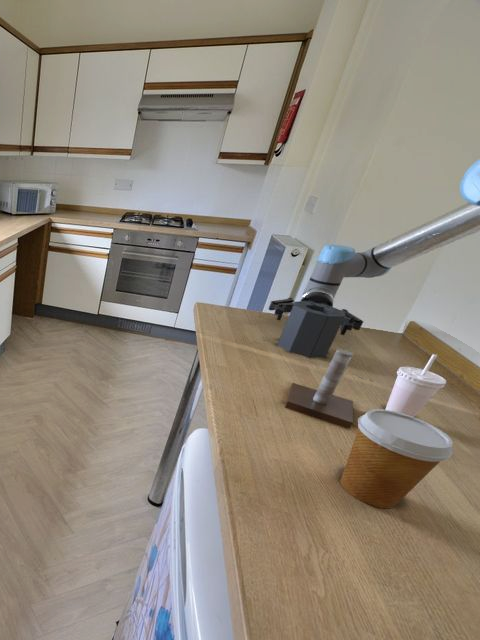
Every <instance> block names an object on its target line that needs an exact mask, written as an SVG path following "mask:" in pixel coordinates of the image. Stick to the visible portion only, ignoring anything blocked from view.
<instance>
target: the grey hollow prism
mask: <svg viewBox="0 0 480 640" xmlns="http://www.w3.org/2000/svg"><path fill="white" fill-rule="evenodd" d="M294 302H295V303H294V305H293V307H292V310H291V312H289V314H288V318H287V320H286V322H285V325H284V327H283V329H282V331H281V334H280V336H279V339H278V342H277V343H276V344H277V346H278V347H280V348H282V349H284V350H285V351H287V352H289V353H292V354H296V355H299V356H303V357H306V358H314V359H315V358H323V359H324V358H327V354H328V352H329V351H330V349H331V347H332V344H333V342H334V340H335V338H336V336H337V334H338V332H339V330H340V329H341V323H342V321H343V319H344V317H345V312H344V311H341V310H342V309H340V308H337V307H334V306H333V307H331V306H328V305H323V304H318V303H313V302H299V301H295V300H294Z"/></svg>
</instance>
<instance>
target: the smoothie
mask: <svg viewBox="0 0 480 640" xmlns="http://www.w3.org/2000/svg"><path fill="white" fill-rule="evenodd" d="M437 357H438V354H435V353H432V355H431V357H430V358H429V360H428V362H427V363H426V365H425V367H424V368H417V367H414V366H400V367H399V368H398V369H397V370H396V374H397V377H396V379H395V382H394V385H393V387H392V390H391V393H390V395H389V398H388V401H387V404H386V406H385V409H384V410H390V411H395V412H399V413H403V414H406V415H409V416H412V417H414V418H416V417H415V416H417V414H419V412H420V411H421V410H422V409H423V408H424V407H425V406H426V404H427V403H428V402H429V401H430V400H431V399H432V398H433V397H434V396H435V394H436V393H437V392H438V391H439V390H440V389H442V388H445V385H446V384H447V379H445V378H444V377H443V376H441V375H439V374H437V373H434V372H432V371H429V370H430V368H431V366H432V365H433V364H434V362H435V360H436V358H437Z"/></svg>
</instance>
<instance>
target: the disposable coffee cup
mask: <svg viewBox="0 0 480 640" xmlns="http://www.w3.org/2000/svg"><path fill="white" fill-rule="evenodd" d="M357 423H358V424H357V426H358V429H357V432H356V435H355V438H354V440H353V443H352V445H351V450H350V452H349V454H348V458H347V460H346V463H345V467H344V470H343V472H342V475H341V478H340V479H339V480H340V481H339V482H340V485H341V487H342V488H343V489H344V491H346V492H347V493H348V494H350V495H351V496H352V497H354V498H355V499H357V500H359V501H361V502H363V503H365V504H367V505H369V506H373V507H376V508H379V509H393V508H395V507H396V506H397V505H398V504H399V503H400V502H401V501H402V500H403V499H404V498H405V497H406V496H407V495H408V494H409V493H410V491H412V490H413V489H414V488H415V487H416V486H417V485H418V484H419V483H420V482H421V481H422V480H424V479H425V477H426V476H427V475H428V474H430V472H432V471H433V469H435V467H436V466H438V465H439V463H440V462H443V461H445V460H448V459H449V458H451V457H452V456H453V454H454V451H453V445H454V442H453V439H452V438H451V437H450V436H449V435H448V434H447V433H445V432H444V431H442V430H441V429H440V428H438V427H436V426H435V425H432V424H431V423H429V422H426V421H425V420H422V419H419V418H418V417H412V416H409V415H406V414H403V413H399V412H395V411H390V410H385V409H381V408H374V409H370V410H368V411H367V412H366V413H365V414H363V415H360V416H359V417H358V418H357Z"/></svg>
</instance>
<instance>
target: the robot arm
mask: <svg viewBox="0 0 480 640" xmlns="http://www.w3.org/2000/svg"><path fill="white" fill-rule="evenodd" d="M459 194H460V196H461V197H462V199H463V200H464V201H465V202H467V203H464V204H462V205H460V206H458V207H456V208H453V209H451V210H450V211H448V212H445V213H443V214H441V215H440V216H437V217H435V218H433V219H431V220H428V221H426V222H424V223H422V224H419V225H418V226H416V227H413V228H411V229H409V230H408V231H405V232H403V233H401V234H398V235H397V236H394V237H392V238H391V239H389V240H386V241H384V242H382V243H379V244H378V245H376V246H374V247H372V248H370V249H368V250H365V251H362V252H356V249H355V248H353V247H352V246H348V245H341V244H327V245H325V246H323V248H322V250H321V252H320V254H319V255H318V257H317V260H316V263H315V265H314V268H313V270H312V272H311V275H310V278H309V279H308V281H307V283H306V286H305V289H304V290H303V293H302V296H301V299H300V300H298V302H313V303H318V304H323V305H328V306H331V307H334V300H335V298H336V297H335V296H336V295H337V293H338V290H339V288H340V286H341V284H342V282H343V280H344V278H365V279H371V278H377V277H378V278H379V277H382V276H384V275H386V274H387V273H389V271H391V269H392V268H393V267H396V266H399V265H401V264H404V263H406V262H409V261H411V260H414V259H416V258H418V257H420V256H424V255H426V254H427V253H430V252H433V251H435V250H438V249H440V248H442V247H445V246H447V245H450V244H452V243H454V242H456V241H459V240H462V239H464V238H467V237H469V236H471V235H474V234H475V233H479V232H480V158H479V159H477V160H475V162H474V163H473V164H472V165H471V166H469V168H468V169H467V170H466V172H465V173H464V175H463V178H462V180H461V181H460V183H459ZM478 231H479V232H478ZM294 303H295V299H294V298H292V297H287V298H283V299H278V300H277V299H276V300H271V301H270V304H269V306H268V310H269V311H274V315H276V316H277V318H276V320H277V321H281V319H282V317H283V315H284V314H286V313H287V314H288V313H289V314H290V312H291V310H292V307H293V305H294ZM340 310H341V311H344V312H345V317H344V319H343V321H342V323H341V326H340V332H339V333H340V335H341V336H345V335H346V333H347V331H352V330H354V331H360V330H361V328H362V325H363V324H364V320H362V319H361V318H359V317H357V316H355V314H352V313H351V312H349V310H348V309H347V308H342V309H340Z"/></svg>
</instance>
